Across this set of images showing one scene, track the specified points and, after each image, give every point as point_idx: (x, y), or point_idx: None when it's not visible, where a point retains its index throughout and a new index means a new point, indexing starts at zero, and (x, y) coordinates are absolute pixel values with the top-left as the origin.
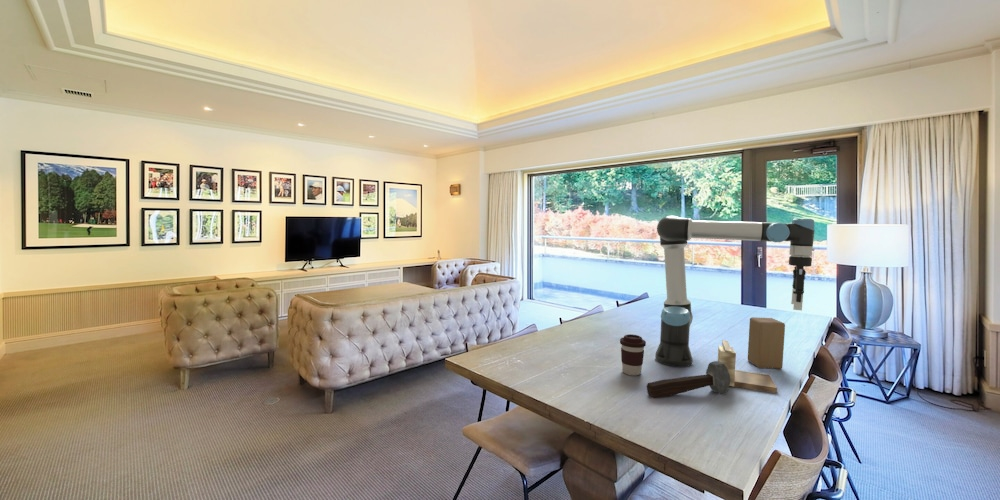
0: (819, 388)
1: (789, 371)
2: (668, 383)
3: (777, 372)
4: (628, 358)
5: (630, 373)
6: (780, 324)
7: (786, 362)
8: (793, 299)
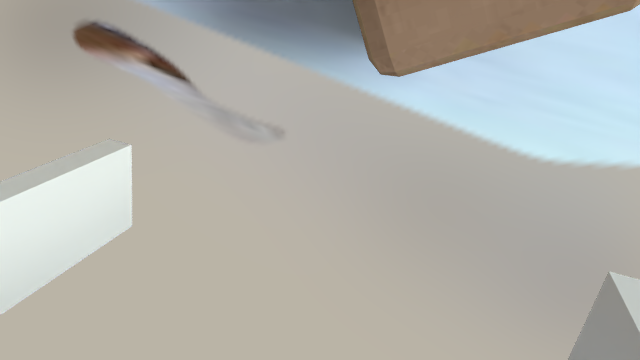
0: (221, 130)
1: None
2: None
3: None
4: None
5: None
6: (361, 27)
7: (578, 99)
8: (623, 349)
